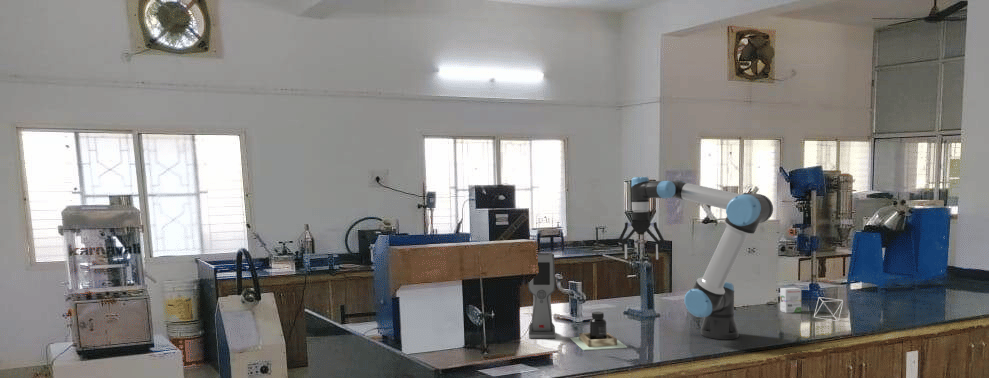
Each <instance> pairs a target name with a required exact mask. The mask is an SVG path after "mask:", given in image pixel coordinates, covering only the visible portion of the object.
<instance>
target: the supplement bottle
mask: <svg viewBox="0 0 989 378" xmlns="http://www.w3.org/2000/svg"><path fill="white" fill-rule="evenodd" d="M589 333H590V340H594V339H607V320H606V319H605V315H604V312H602V311H593V312H591V319H590V320H589Z"/></svg>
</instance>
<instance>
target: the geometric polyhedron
mask: <svg viewBox="0 0 989 378" xmlns="http://www.w3.org/2000/svg"><path fill="white" fill-rule="evenodd" d="M822 299H824V296H823V297H822V296H818V299H817V303H816V307H815V311H814V315H813V319H814V318H816V319H818V316H816V315H817V314H818V312H819V310H820V309H821V307H822V305H823V304H824V306H825V307H826V309H827V310H828V311H829V313H831V316H832V317H834V319H835V320H834V319H833V321H835V322H839V321H840V317H841V313H842V308H843V304H844V300H843V299H839V298H838V299H836V298H833V301H836V302H841V303H840V304H839V306H838V308H837V309H836V311H835V312H834V313H833V312H832V310H831V309H830V308H829V307H828V305H827V304H826V303H827V302H829V303H830V302H831V298H830V297H825V299H826V300H822ZM827 299H829V300H827ZM819 300H820V301H821V304H820V306H819V307H818V304H819ZM817 308H818V309H817ZM839 309H840V311H839V315H838V317H836V313H837V312H838V310H839ZM821 317H822V318H821ZM821 317H820V319H823V320H825V317H828V318H826V321H827V320H828V321H831V319H829V317H830V315H826V316H821ZM837 318H838V319H837Z"/></svg>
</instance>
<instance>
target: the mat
mask: <svg viewBox="0 0 989 378" xmlns="http://www.w3.org/2000/svg"><path fill="white" fill-rule="evenodd" d="M569 338H570V340H571V341H572V343H573V342H574V343H575V344H576V345H577V346H578V347H579V348H580V349H581V350H583V351H595V350H596V351H597V350H600V351H601V350H611V349H612V350H613V349H628V346H627V345H625V344H624V343H622V342H621V341H620V340H618V339H617V345H612V346H596V347H588V346H587V345H586V344H585V343H583V342H582V341H581V340H580V339H579V336H577V337H576V336H575V337H569Z"/></svg>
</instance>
